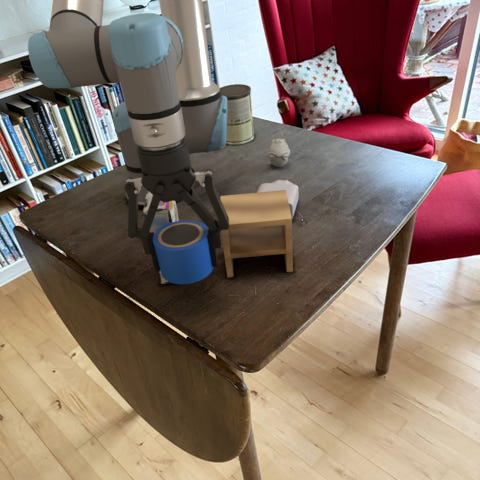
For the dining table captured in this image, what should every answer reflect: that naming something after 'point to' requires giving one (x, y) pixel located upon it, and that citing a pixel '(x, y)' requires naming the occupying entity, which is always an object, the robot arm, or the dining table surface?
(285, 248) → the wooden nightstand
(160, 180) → the robot arm
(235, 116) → the coffee can
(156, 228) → the candy bar box
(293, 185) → the charger
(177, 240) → the tape roll
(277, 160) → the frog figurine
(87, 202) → the dining table surface
